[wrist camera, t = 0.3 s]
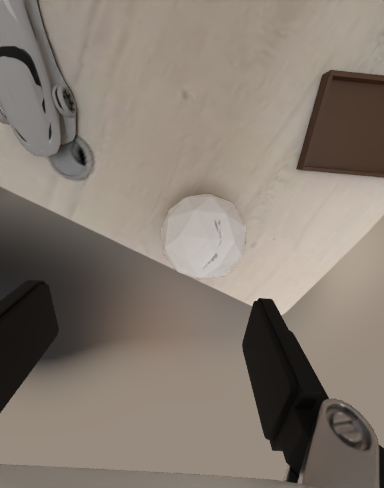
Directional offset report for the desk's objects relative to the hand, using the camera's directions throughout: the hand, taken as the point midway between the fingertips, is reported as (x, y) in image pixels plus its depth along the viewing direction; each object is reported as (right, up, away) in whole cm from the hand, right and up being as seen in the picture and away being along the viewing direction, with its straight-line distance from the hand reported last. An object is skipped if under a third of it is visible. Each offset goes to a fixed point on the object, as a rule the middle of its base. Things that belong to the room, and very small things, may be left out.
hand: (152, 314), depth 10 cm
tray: (+30, +22, +24) cm, 44 cm away
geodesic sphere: (+4, +7, +31) cm, 32 cm away
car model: (-22, +29, +21) cm, 42 cm away
